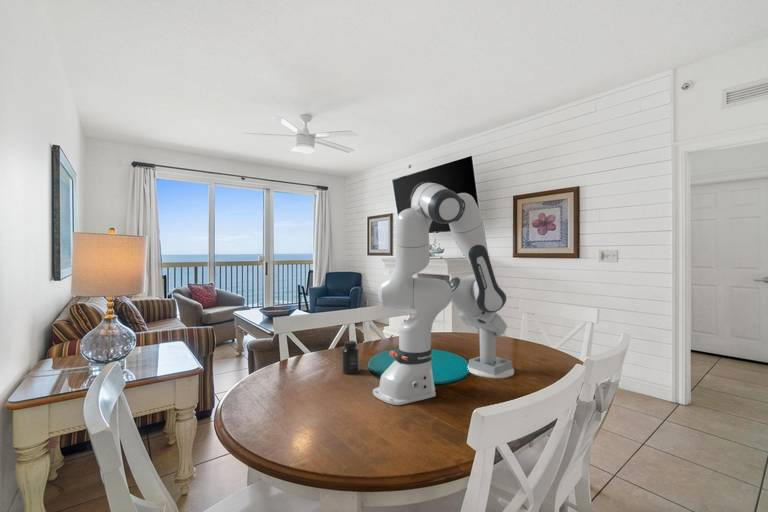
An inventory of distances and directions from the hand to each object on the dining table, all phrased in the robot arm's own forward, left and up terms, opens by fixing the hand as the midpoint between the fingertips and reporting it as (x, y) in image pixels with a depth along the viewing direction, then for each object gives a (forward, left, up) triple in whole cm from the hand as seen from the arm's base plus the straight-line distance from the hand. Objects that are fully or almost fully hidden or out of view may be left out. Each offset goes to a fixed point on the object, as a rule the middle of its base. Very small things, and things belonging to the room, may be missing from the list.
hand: (491, 333), depth 143 cm
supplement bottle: (-45, +35, -15) cm, 59 cm away
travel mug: (-1, 0, -14) cm, 14 cm away
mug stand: (-1, 0, -15) cm, 15 cm away
